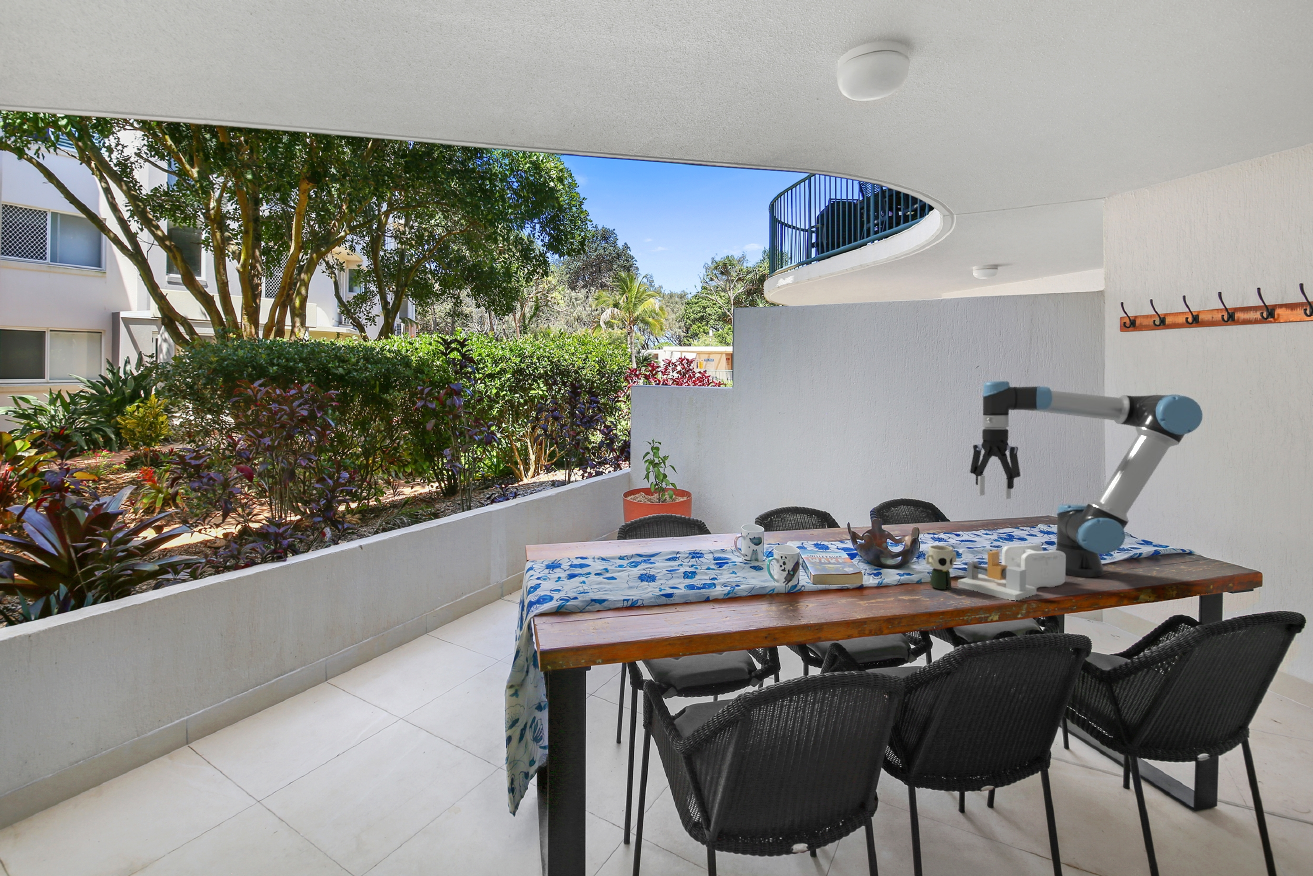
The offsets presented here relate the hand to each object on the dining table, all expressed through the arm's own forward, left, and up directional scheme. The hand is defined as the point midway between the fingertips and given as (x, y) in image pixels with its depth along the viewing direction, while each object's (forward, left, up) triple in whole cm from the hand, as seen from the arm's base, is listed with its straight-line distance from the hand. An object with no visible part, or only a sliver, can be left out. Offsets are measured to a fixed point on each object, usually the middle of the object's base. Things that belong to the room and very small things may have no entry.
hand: (994, 496), depth 206 cm
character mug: (+24, -3, -27) cm, 36 cm away
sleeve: (+12, +8, -23) cm, 27 cm away
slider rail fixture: (+12, +8, -27) cm, 31 cm away
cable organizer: (-4, +11, -28) cm, 30 cm away
